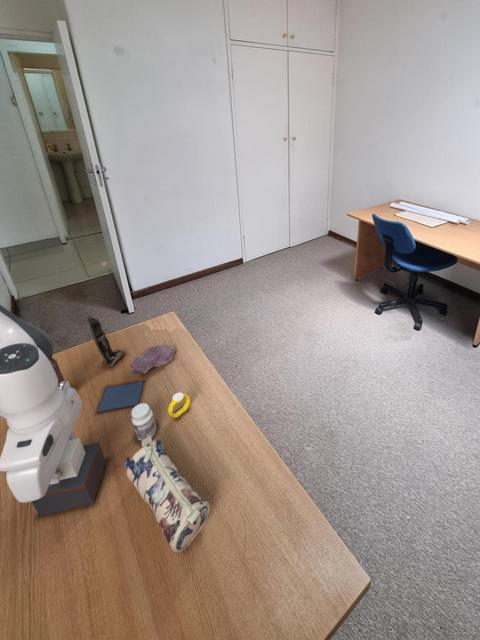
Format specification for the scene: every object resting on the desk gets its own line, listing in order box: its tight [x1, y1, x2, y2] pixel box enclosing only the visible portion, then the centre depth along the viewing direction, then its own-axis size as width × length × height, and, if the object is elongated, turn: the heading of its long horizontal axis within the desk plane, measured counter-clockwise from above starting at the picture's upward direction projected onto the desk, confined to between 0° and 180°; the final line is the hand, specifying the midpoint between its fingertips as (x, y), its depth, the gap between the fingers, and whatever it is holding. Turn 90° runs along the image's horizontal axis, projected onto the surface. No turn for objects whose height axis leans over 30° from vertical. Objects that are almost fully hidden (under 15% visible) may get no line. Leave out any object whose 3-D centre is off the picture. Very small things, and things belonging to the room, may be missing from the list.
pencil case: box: [123, 436, 211, 553], centre depth 67 cm, size 22×8×10 cm, turn 49°
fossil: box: [130, 344, 176, 375], centre depth 103 cm, size 8×14×5 cm, turn 141°
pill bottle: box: [131, 402, 157, 442], centre depth 82 cm, size 5×5×8 cm
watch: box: [167, 392, 191, 419], centre depth 88 cm, size 6×3×6 cm, turn 144°
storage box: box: [30, 441, 107, 517], centre depth 71 cm, size 10×9×7 cm
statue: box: [87, 316, 126, 368], centre depth 101 cm, size 4×7×20 cm, turn 167°
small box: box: [56, 437, 86, 480], centre depth 68 cm, size 6×5×5 cm
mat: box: [97, 381, 144, 413], centre depth 93 cm, size 10×8×1 cm
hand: (63, 462), depth 68 cm, fingers open, 5 cm apart
